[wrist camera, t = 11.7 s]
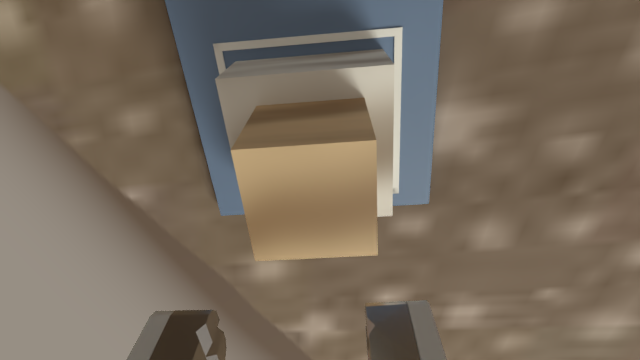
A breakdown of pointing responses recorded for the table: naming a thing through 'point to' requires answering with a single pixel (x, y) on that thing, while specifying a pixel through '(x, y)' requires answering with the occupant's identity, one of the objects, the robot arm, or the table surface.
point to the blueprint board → (311, 39)
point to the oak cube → (309, 180)
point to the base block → (317, 96)
